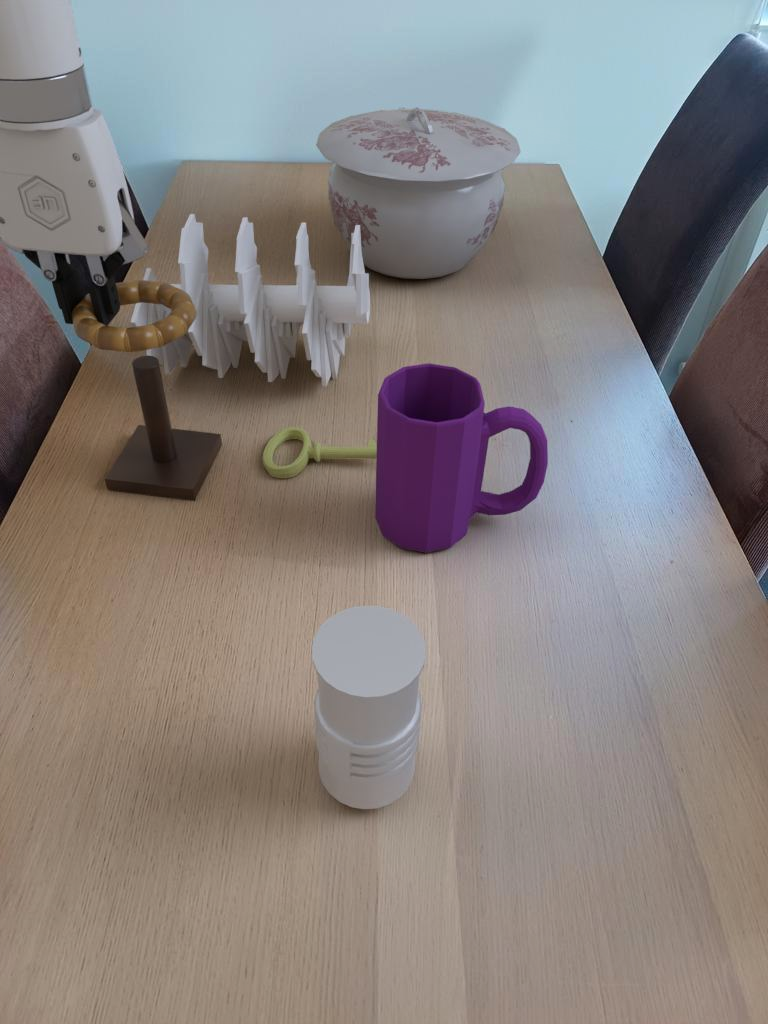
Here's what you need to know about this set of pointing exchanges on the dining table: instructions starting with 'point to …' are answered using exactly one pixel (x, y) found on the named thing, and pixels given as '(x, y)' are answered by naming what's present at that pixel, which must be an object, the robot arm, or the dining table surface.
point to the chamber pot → (417, 187)
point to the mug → (443, 456)
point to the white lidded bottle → (367, 704)
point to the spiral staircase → (260, 309)
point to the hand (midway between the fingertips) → (92, 316)
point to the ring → (139, 335)
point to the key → (310, 452)
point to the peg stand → (161, 446)
